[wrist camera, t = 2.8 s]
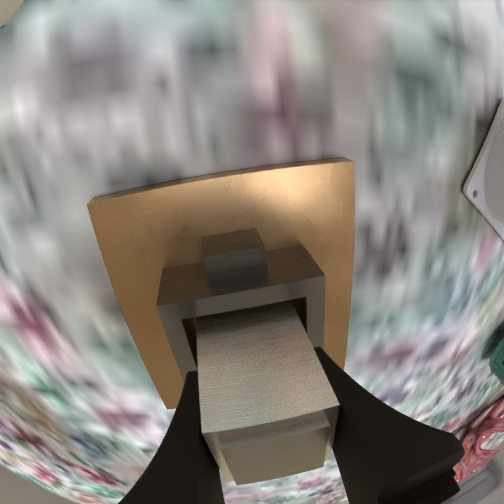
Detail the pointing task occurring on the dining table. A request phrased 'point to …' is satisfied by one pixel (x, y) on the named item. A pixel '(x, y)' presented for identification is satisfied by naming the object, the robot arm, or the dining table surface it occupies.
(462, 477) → the spiral basket
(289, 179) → the stand base
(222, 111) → the dining table surface
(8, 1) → the ashtray
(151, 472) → the robot arm
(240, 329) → the grayish brown rectangular block
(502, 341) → the beverage bottle
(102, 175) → the dining table surface
